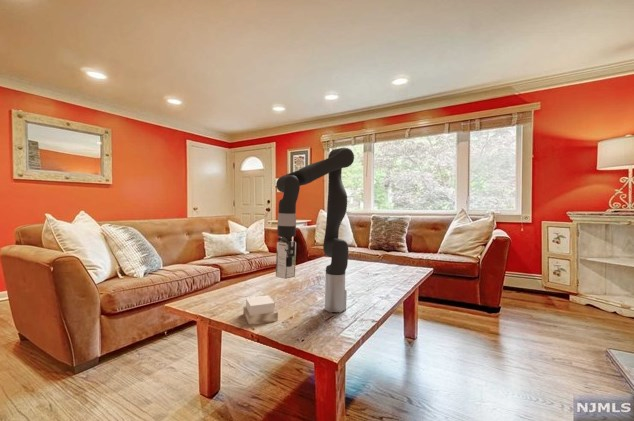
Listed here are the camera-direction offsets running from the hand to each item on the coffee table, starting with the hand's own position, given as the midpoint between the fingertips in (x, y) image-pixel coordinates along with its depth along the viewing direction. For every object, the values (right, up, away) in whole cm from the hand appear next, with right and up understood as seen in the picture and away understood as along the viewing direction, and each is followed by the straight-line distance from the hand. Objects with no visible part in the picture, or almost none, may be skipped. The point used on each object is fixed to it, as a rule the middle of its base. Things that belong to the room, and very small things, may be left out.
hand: (285, 264), depth 116 cm
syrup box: (0, -5, 0) cm, 5 cm away
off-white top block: (-12, -20, +5) cm, 24 cm away
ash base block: (-12, -24, +6) cm, 28 cm away
